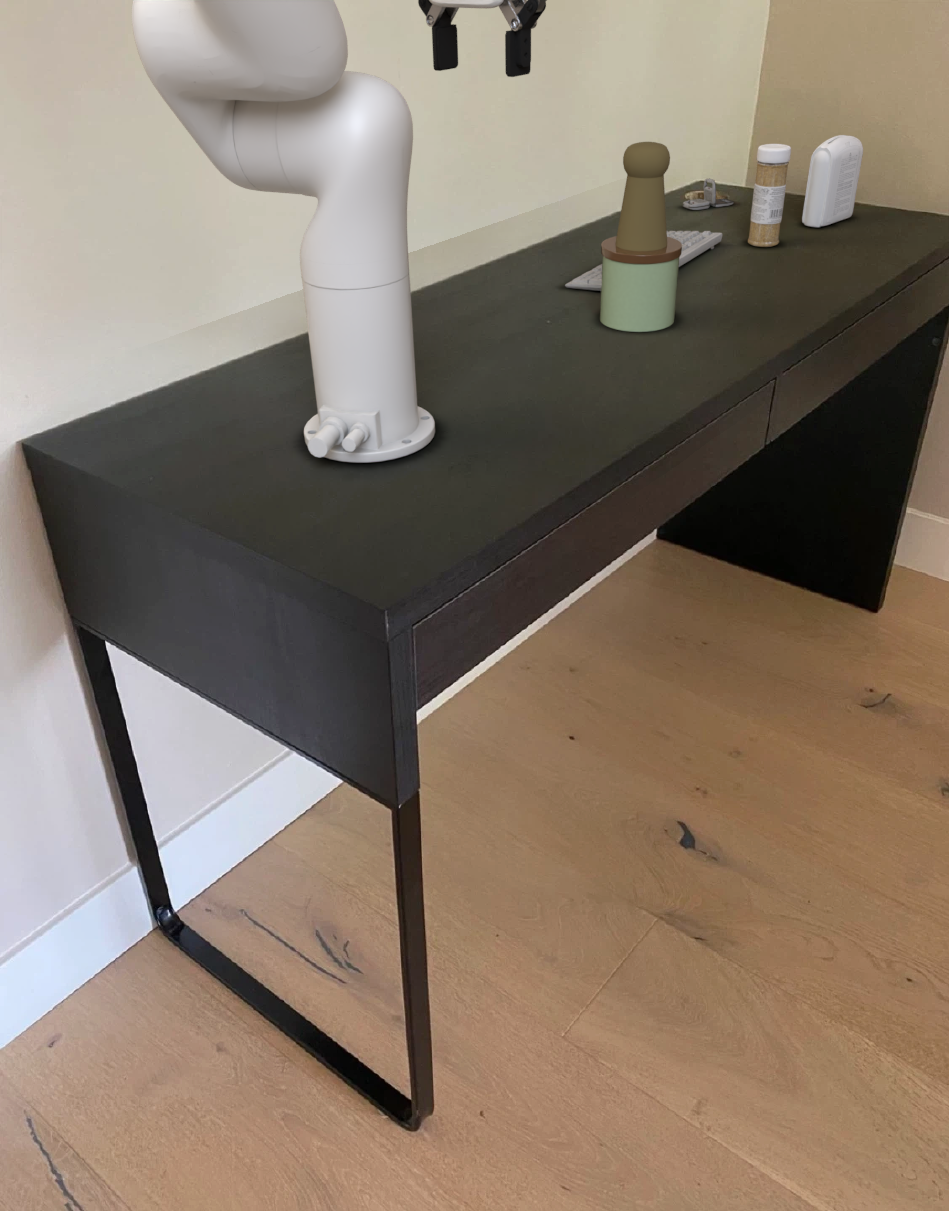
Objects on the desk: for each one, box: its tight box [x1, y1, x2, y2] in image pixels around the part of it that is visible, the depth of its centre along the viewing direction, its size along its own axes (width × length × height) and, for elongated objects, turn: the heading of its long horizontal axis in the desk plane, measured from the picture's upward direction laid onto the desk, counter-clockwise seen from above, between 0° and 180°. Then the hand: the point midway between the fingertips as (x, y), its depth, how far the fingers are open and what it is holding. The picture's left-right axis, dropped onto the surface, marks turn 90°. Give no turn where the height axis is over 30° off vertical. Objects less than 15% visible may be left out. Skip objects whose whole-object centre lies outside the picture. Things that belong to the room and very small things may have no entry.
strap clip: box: [682, 178, 735, 211], centre depth 172 cm, size 8×3×4 cm, turn 113°
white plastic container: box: [801, 134, 864, 228], centre depth 159 cm, size 10×4×12 cm, turn 134°
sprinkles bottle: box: [747, 143, 792, 248], centre depth 149 cm, size 5×5×13 cm
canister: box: [599, 235, 682, 333], centre depth 124 cm, size 9×9×9 cm
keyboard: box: [564, 230, 723, 292], centre depth 145 cm, size 29×10×2 cm, turn 147°
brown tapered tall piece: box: [615, 141, 671, 251], centre depth 119 cm, size 6×6×11 cm
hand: (481, 71), depth 106 cm, fingers open, 9 cm apart
